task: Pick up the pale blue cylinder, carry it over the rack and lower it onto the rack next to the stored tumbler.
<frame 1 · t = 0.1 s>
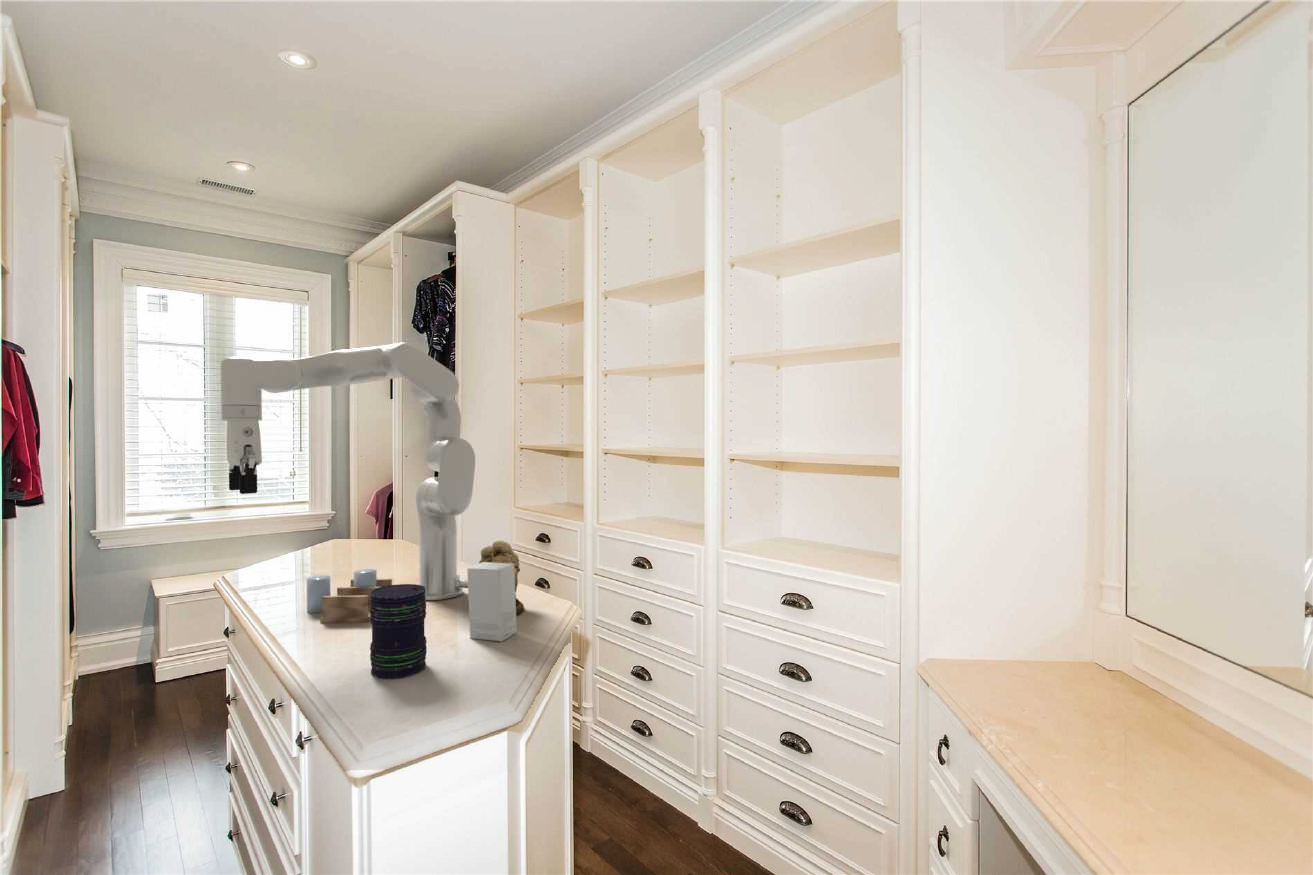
hand: (242, 491, 143), 31 cm above the counter, tool pointing down, fingers open, 9 cm apart
brown rough rounded piece: (496, 609, 162), on the counter
skincare box: (492, 637, 141), on the counter
storage jar: (398, 670, 122), on the counter
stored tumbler: (365, 603, 163), point 1 cm above the counter, touching rack
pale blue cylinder: (318, 610, 160), on the counter
rack: (359, 611, 159), on the counter
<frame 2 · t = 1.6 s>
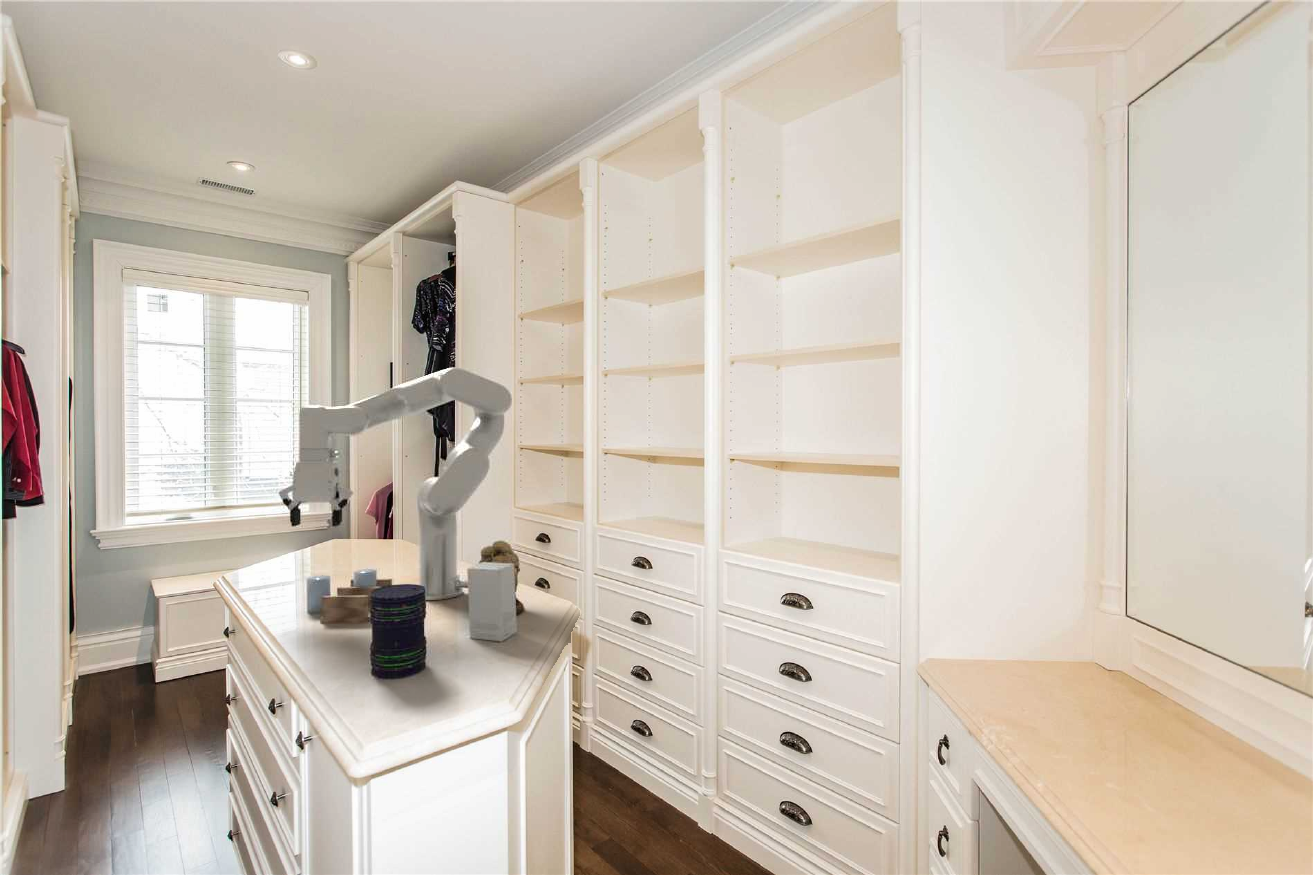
hand: (316, 525, 159), 21 cm above the counter, tool pointing down, fingers open, 9 cm apart
nothing on the counter moved.
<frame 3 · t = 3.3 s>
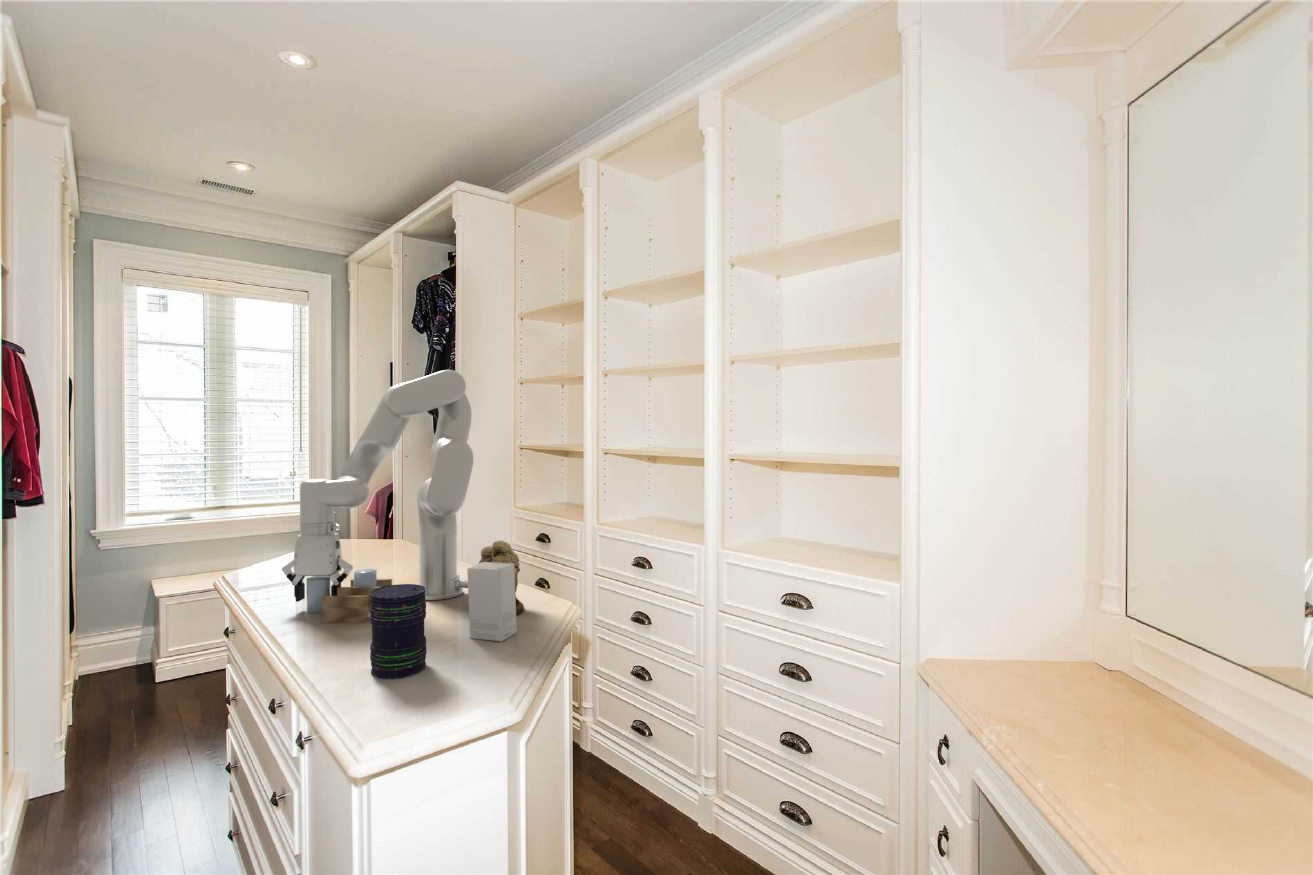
hand: (317, 599, 160), 3 cm above the counter, tool pointing down, fingers open, 7 cm apart
nothing on the counter moved.
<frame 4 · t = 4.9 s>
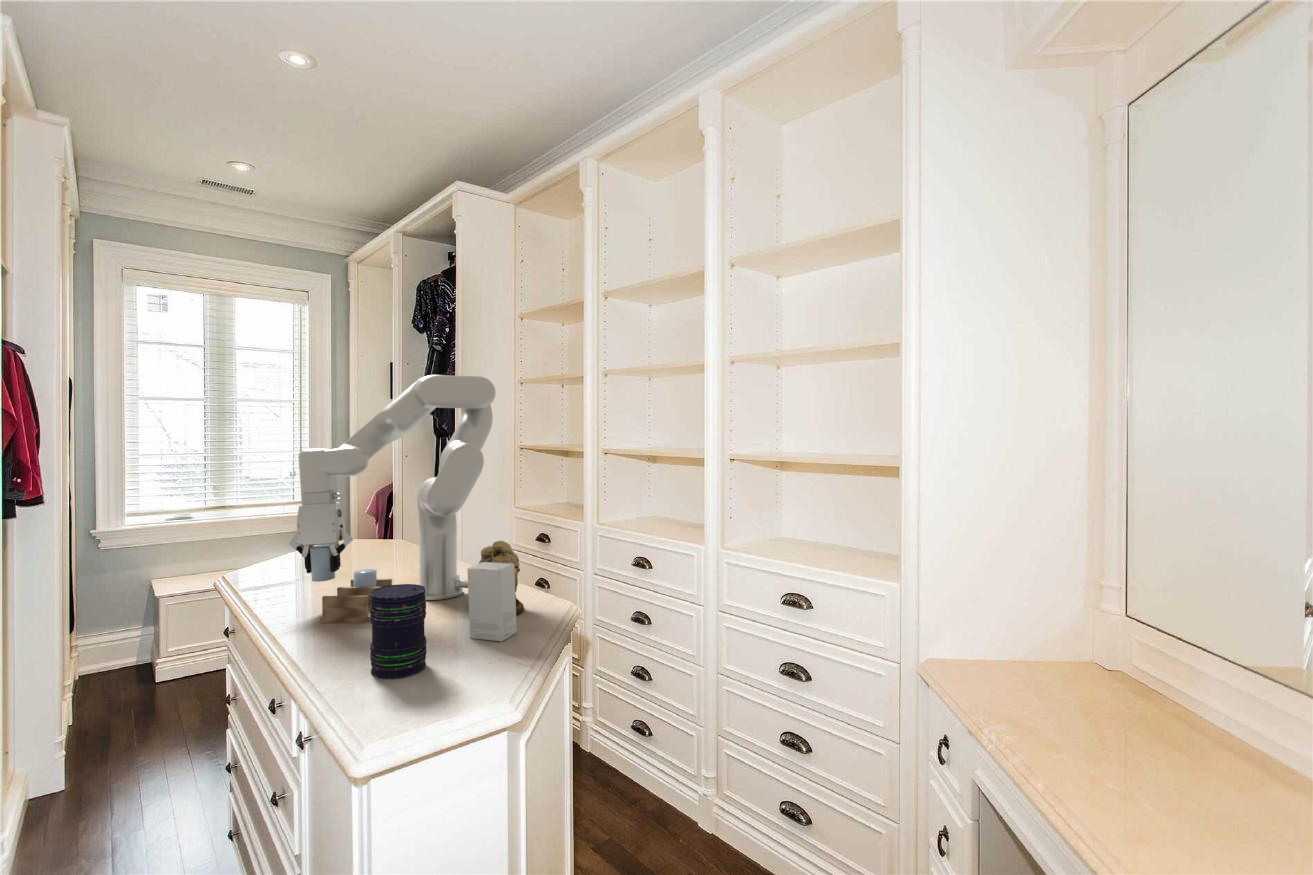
hand: (323, 570, 160), 10 cm above the counter, tool pointing down, fingers closed on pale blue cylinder, 5 cm apart
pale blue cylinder: (323, 578, 160), point 8 cm above the counter, touching gripper
everything else where it was.
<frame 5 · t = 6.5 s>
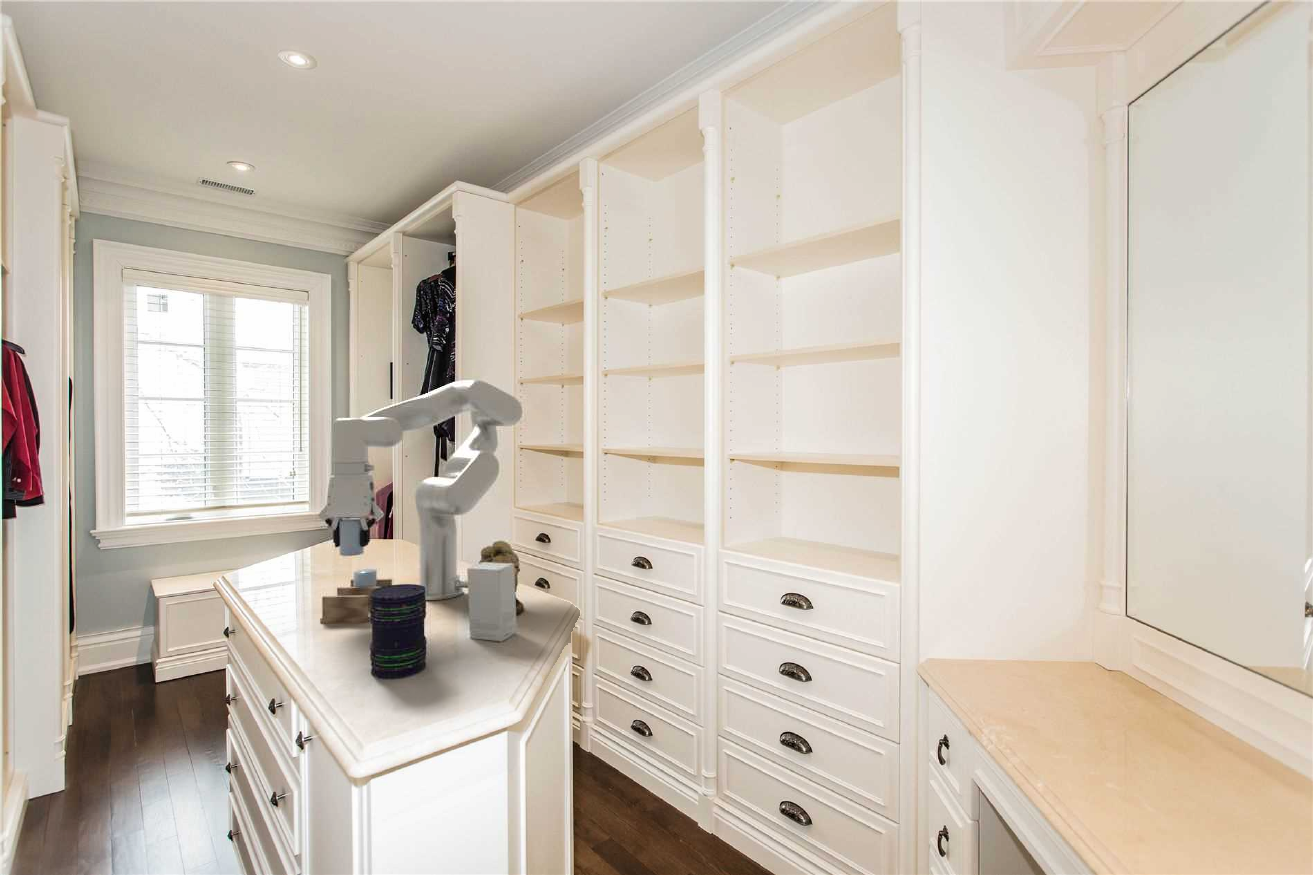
hand: (351, 545, 154), 17 cm above the counter, tool pointing down, fingers closed on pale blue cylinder, 5 cm apart
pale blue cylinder: (351, 553, 154), point 15 cm above the counter, touching gripper
everything else where it was.
when the fingers open (4 cm above the counter, at t = 9.2 s): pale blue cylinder drops 1 cm, resting on rack.
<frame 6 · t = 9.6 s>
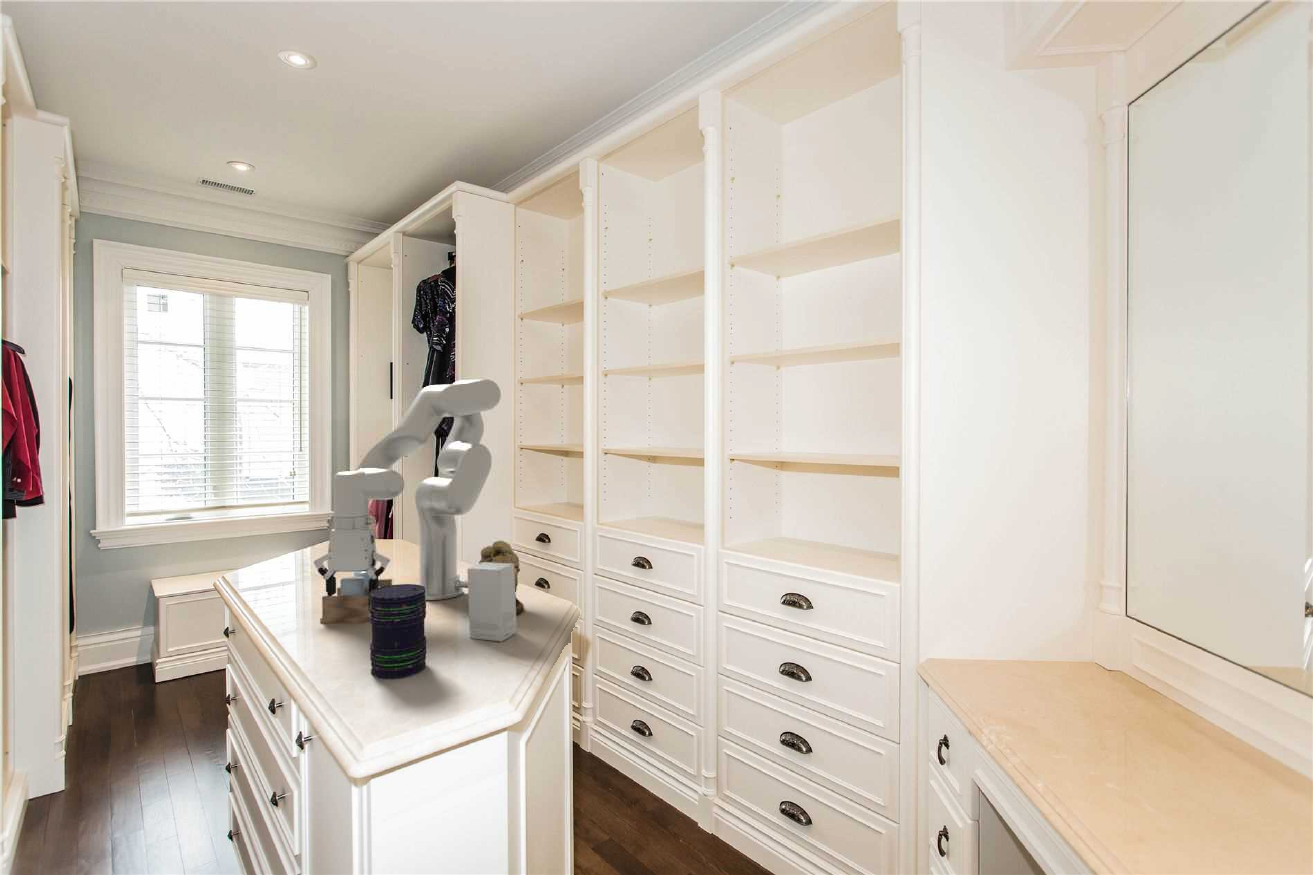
hand: (352, 594, 155), 5 cm above the counter, tool pointing down, fingers open, 9 cm apart
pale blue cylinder: (352, 612, 155), point 1 cm above the counter, touching rack
everything else where it was.
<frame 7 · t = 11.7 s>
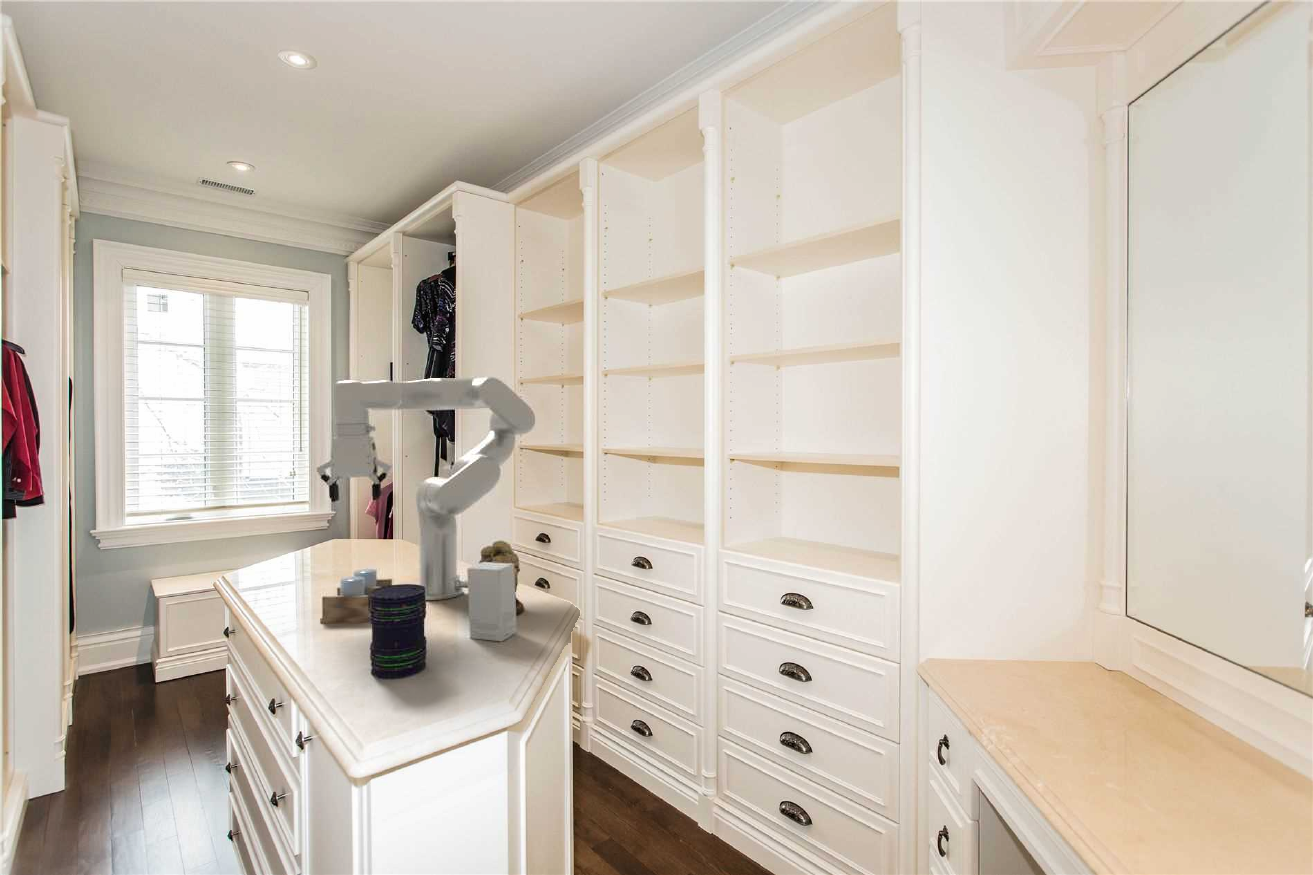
hand: (355, 500, 160), 27 cm above the counter, tool pointing down, fingers open, 9 cm apart
nothing on the counter moved.
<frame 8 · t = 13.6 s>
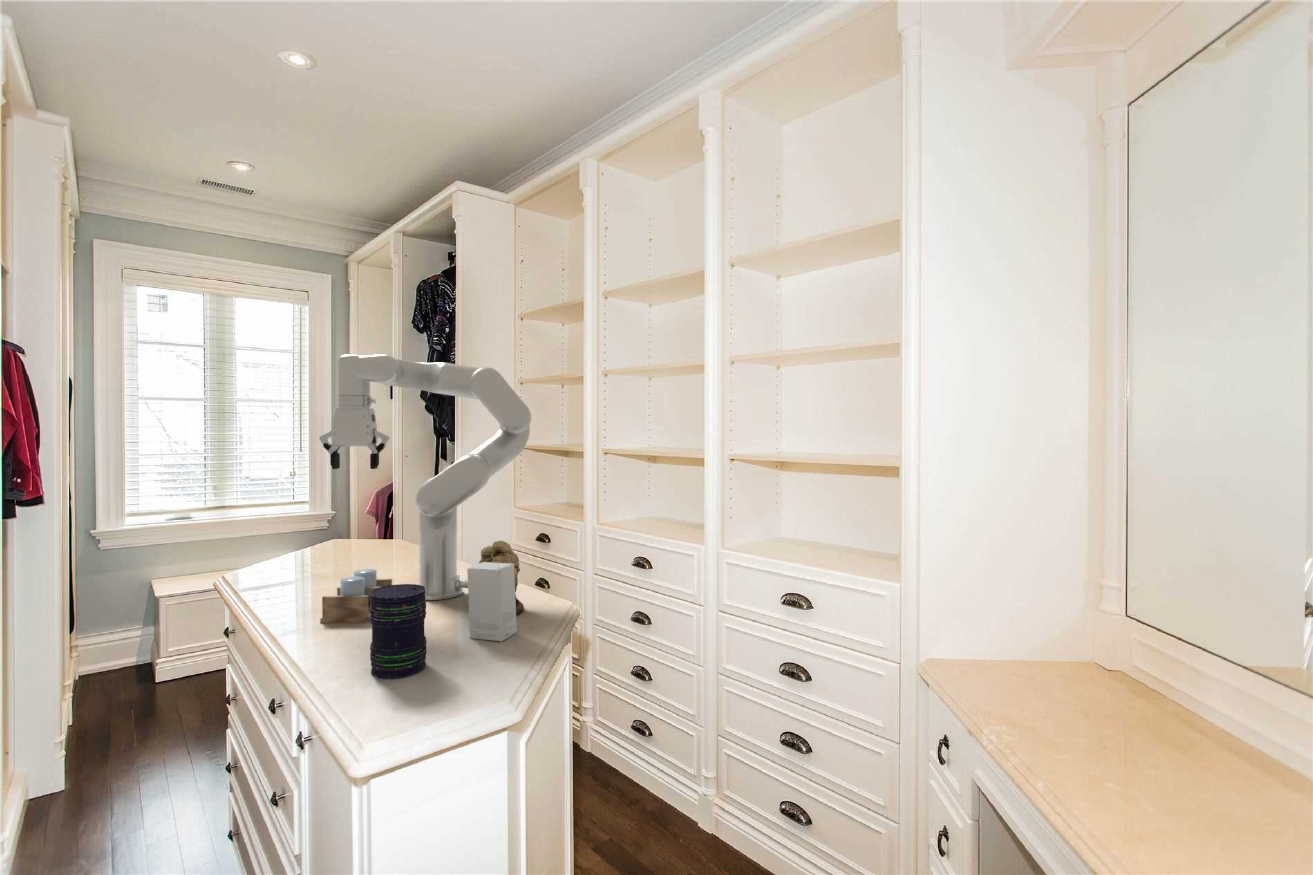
hand: (355, 468, 168), 34 cm above the counter, tool pointing down, fingers open, 9 cm apart
nothing on the counter moved.
at the end: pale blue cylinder 0.1 cm from the target spot on the rack, point 1.0 cm above the rack's base; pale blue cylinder tilted 0°; the gripper is holding nothing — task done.
